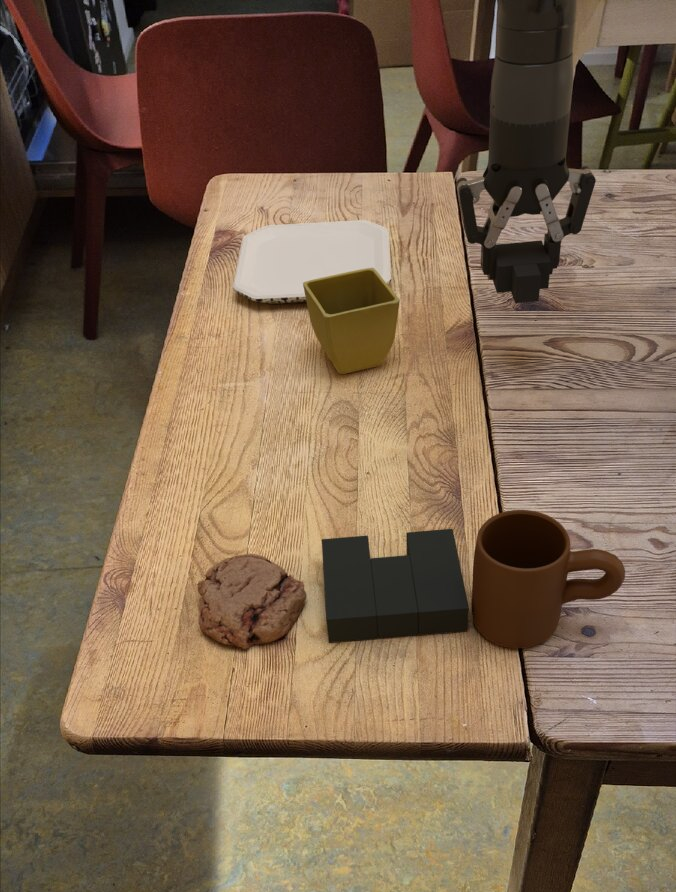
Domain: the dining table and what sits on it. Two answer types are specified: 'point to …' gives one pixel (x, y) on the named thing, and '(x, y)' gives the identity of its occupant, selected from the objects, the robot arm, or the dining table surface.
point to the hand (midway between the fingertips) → (519, 273)
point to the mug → (531, 577)
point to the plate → (307, 257)
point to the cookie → (249, 601)
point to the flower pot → (353, 318)
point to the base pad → (393, 588)
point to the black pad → (522, 270)
